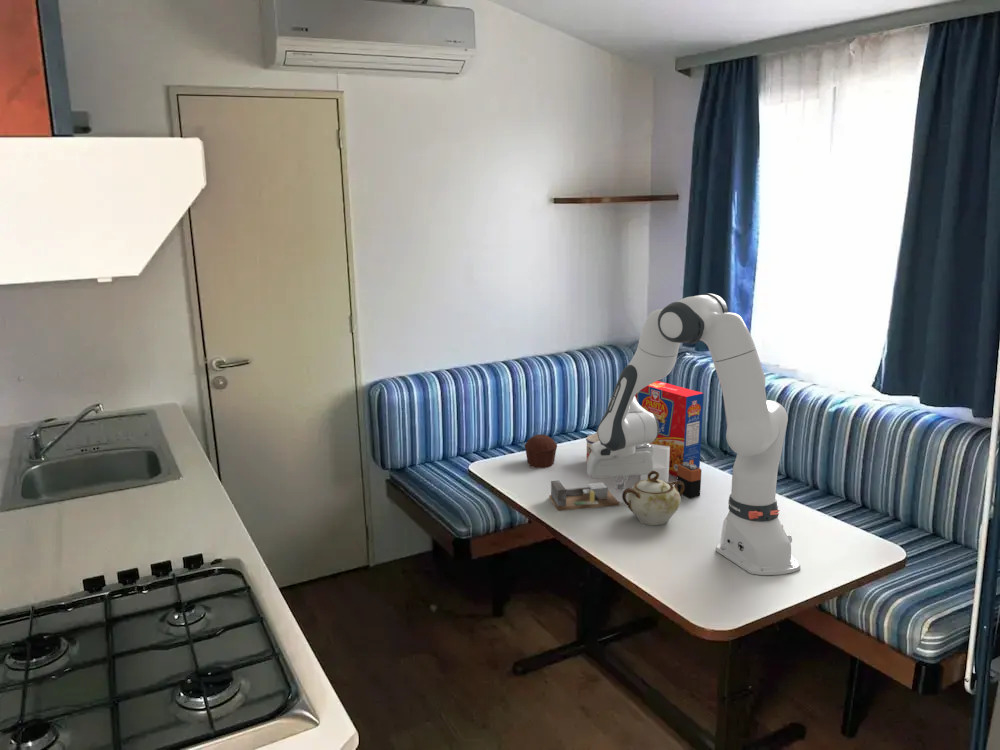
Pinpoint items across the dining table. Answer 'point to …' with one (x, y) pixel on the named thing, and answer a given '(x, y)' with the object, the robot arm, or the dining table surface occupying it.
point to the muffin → (540, 451)
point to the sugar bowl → (653, 499)
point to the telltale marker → (592, 496)
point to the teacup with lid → (591, 440)
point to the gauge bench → (576, 498)
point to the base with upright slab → (659, 462)
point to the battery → (689, 479)
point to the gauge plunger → (596, 490)
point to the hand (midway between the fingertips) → (619, 488)
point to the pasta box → (675, 421)
